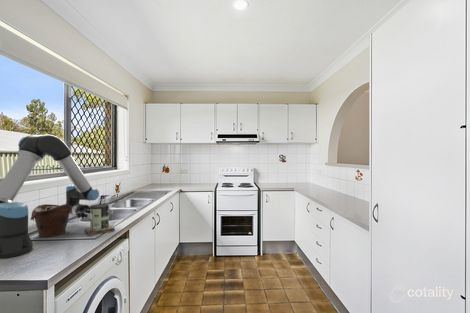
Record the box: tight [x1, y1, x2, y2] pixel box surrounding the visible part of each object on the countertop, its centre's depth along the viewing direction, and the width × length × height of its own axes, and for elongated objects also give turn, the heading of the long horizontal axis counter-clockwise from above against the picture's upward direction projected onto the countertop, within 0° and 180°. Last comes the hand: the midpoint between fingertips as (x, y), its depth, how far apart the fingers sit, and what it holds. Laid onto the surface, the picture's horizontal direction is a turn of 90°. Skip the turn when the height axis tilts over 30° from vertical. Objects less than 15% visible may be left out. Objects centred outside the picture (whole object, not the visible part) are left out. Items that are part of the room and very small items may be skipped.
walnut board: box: [84, 224, 116, 236], centre depth 154 cm, size 14×11×2 cm
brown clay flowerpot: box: [29, 203, 72, 238], centre depth 149 cm, size 18×20×18 cm
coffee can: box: [89, 203, 110, 231], centre depth 154 cm, size 10×10×14 cm
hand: (102, 213), depth 153 cm, fingers open, 13 cm apart
